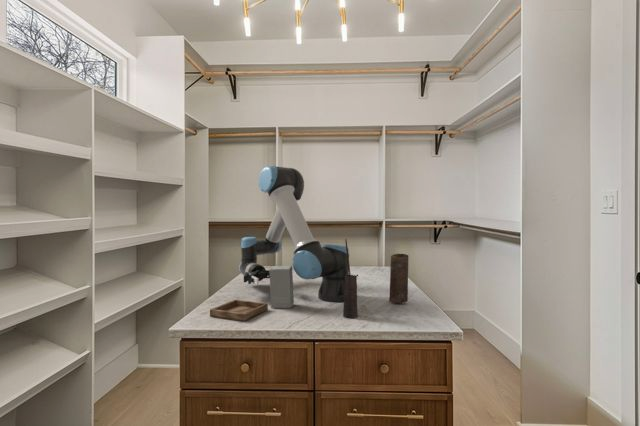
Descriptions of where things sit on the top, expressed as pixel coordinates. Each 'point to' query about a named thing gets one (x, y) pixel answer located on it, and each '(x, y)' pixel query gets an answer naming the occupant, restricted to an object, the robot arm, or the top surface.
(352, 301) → the butter churn
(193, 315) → the top surface
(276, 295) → the skincare box
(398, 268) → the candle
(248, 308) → the walnut tray
